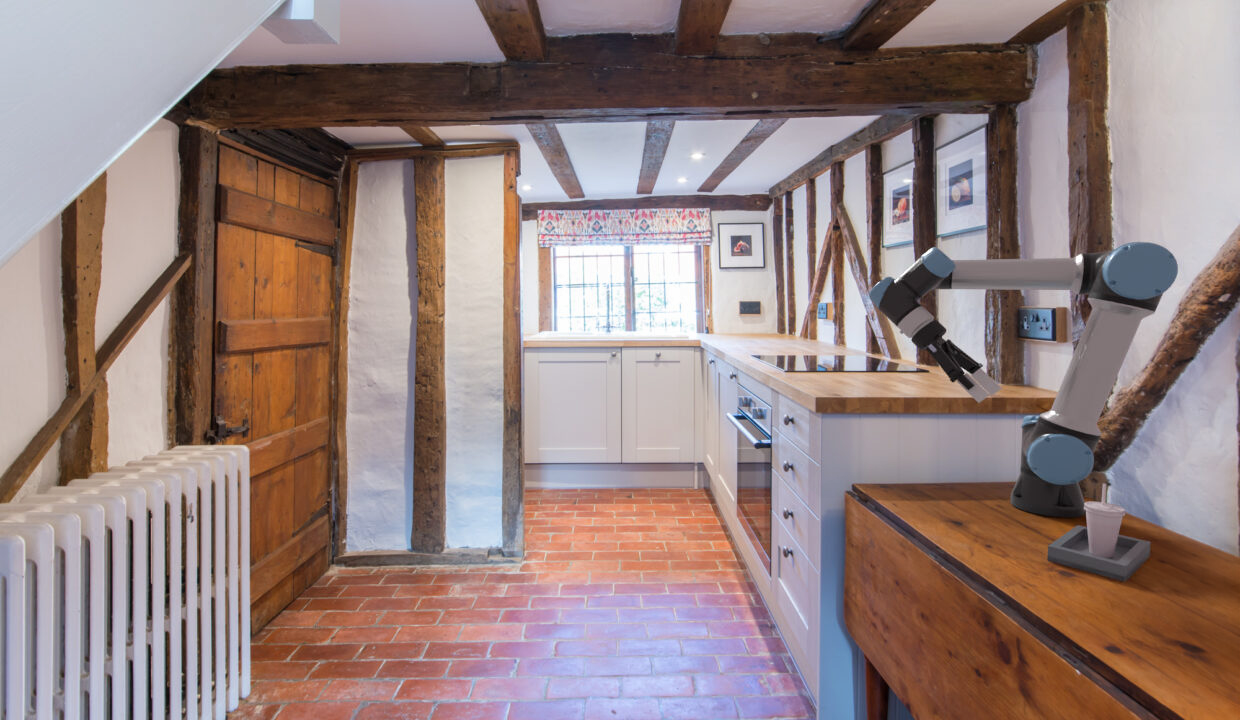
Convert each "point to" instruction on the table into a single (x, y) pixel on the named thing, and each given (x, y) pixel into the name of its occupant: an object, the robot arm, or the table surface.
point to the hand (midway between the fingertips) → (990, 395)
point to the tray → (1076, 555)
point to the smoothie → (1103, 526)
